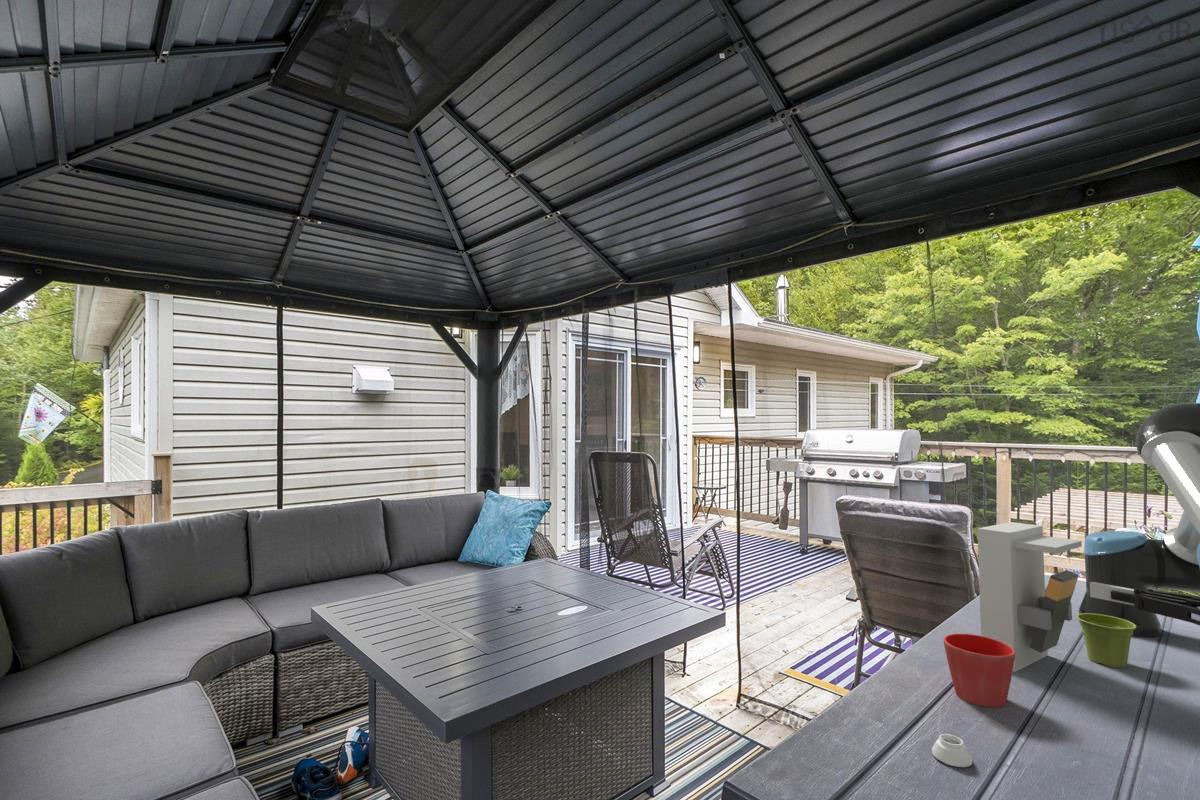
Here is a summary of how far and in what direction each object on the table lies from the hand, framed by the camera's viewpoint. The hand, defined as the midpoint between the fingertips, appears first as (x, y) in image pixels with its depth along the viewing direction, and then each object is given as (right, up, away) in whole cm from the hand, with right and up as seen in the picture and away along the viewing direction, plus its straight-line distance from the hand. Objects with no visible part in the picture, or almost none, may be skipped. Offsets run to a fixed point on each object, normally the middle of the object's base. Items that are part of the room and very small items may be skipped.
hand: (1091, 589), depth 108 cm
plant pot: (+11, -19, +9) cm, 24 cm away
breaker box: (-5, -18, +7) cm, 20 cm away
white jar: (-44, -17, -26) cm, 54 cm away
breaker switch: (-4, -14, +6) cm, 16 cm away
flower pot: (-27, -18, -7) cm, 33 cm away
